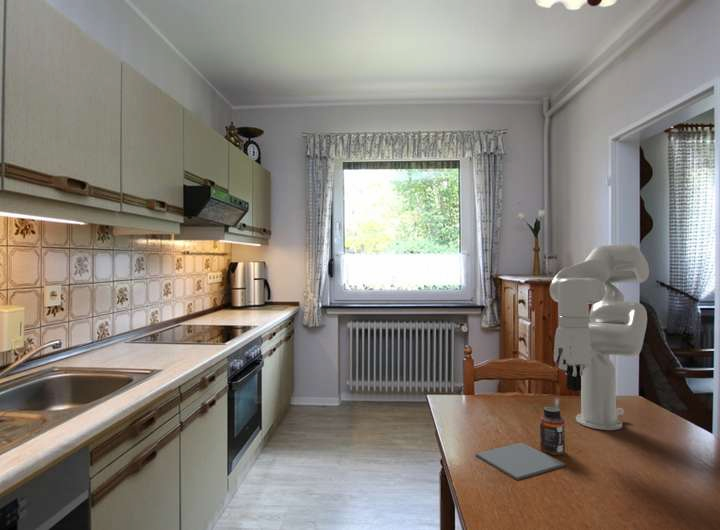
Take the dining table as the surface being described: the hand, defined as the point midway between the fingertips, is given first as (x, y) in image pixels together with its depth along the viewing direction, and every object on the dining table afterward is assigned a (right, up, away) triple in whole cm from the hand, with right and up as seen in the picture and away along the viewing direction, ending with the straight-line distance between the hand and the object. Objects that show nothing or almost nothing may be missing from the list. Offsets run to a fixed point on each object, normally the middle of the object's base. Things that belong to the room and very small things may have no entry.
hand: (574, 389), depth 114 cm
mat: (-18, -15, -9) cm, 26 cm away
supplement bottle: (-8, -16, -4) cm, 18 cm away
